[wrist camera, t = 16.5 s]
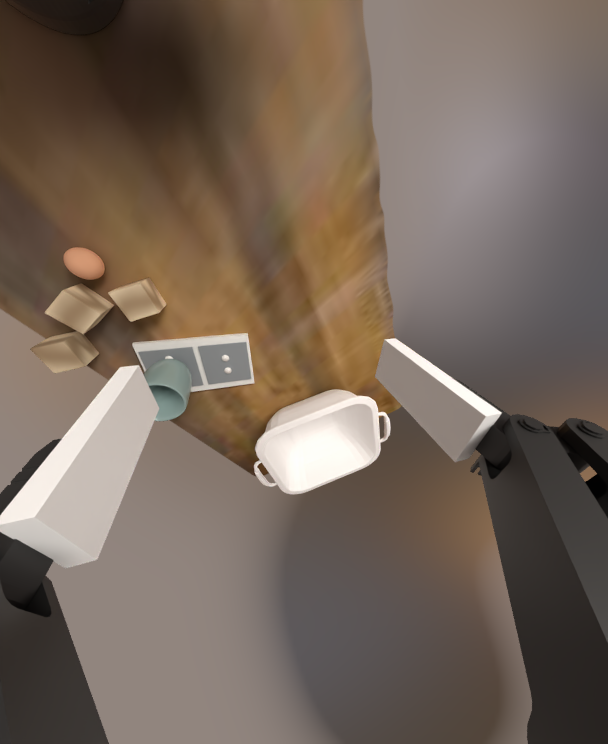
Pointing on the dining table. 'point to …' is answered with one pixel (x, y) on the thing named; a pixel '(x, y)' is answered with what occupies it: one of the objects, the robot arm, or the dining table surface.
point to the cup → (169, 387)
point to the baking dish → (320, 440)
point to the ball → (84, 263)
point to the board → (204, 358)
